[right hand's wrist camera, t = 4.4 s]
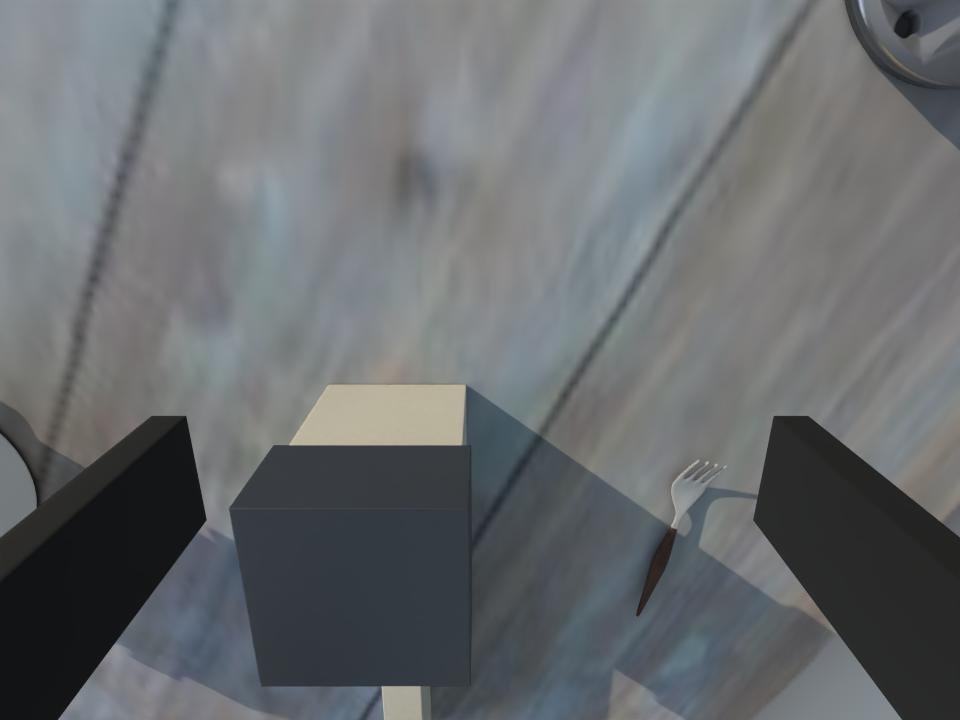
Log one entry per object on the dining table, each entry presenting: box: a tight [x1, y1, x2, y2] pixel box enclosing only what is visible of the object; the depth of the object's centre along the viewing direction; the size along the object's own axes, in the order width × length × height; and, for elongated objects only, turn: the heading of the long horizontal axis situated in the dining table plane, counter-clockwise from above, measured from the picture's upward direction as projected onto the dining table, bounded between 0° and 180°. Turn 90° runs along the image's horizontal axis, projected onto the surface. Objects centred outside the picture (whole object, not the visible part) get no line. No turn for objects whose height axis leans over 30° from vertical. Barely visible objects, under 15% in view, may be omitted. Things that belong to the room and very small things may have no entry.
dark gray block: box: [229, 445, 472, 686], centre depth 31 cm, size 11×11×6 cm
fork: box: [636, 459, 727, 616], centre depth 44 cm, size 3×16×2 cm, turn 167°
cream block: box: [289, 385, 467, 720], centre depth 42 cm, size 10×34×10 cm, turn 0°
